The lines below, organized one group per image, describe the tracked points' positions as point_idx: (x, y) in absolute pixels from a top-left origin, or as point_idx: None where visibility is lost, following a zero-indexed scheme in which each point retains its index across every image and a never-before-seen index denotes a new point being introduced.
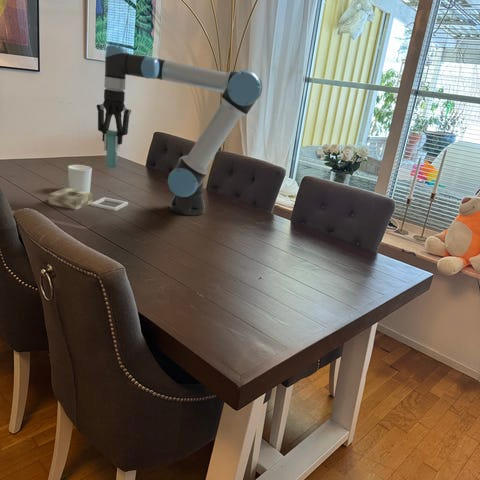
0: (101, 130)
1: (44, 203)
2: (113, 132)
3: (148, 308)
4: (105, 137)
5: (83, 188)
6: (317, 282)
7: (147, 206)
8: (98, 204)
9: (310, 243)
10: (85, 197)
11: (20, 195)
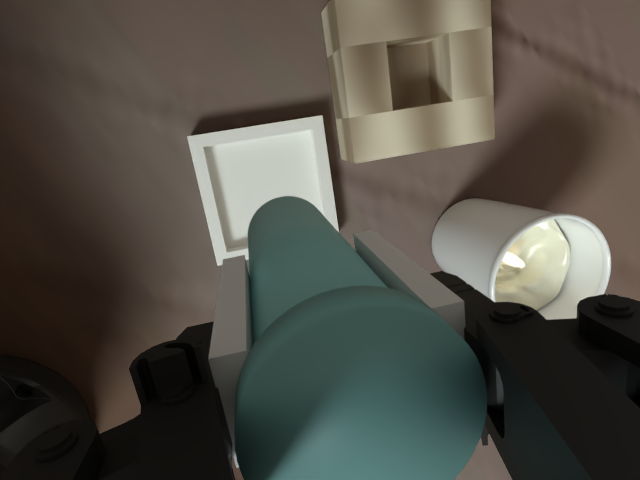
0: (569, 331)
1: (491, 16)
2: (276, 349)
3: None
4: (419, 282)
5: (454, 227)
6: None
7: (164, 330)
8: (284, 126)
9: None
10: (344, 92)
11: (620, 35)
